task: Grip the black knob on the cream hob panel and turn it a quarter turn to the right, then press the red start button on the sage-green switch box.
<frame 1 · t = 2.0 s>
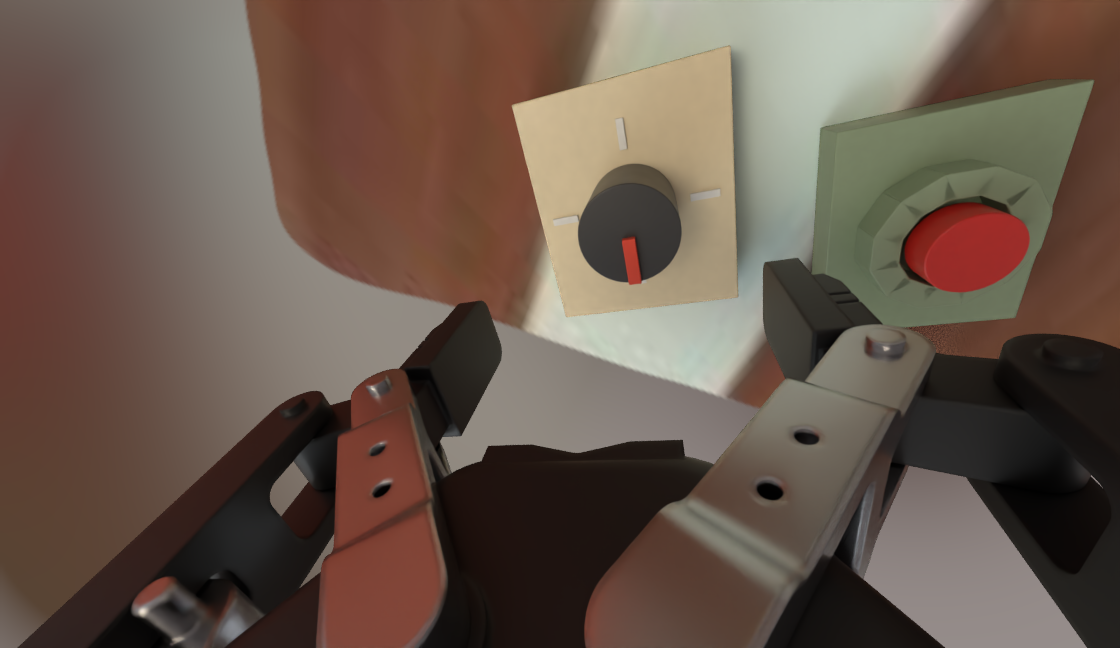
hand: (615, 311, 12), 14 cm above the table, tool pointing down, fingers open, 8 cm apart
hob panel: (634, 194, 24), on the table
start button: (962, 247, 18), point 4 cm above the table, slide at 0.1 cm
switch box: (908, 218, 22), on the table
hob knob: (630, 221, 19), point 5 cm above the table, hinge at 0.0°
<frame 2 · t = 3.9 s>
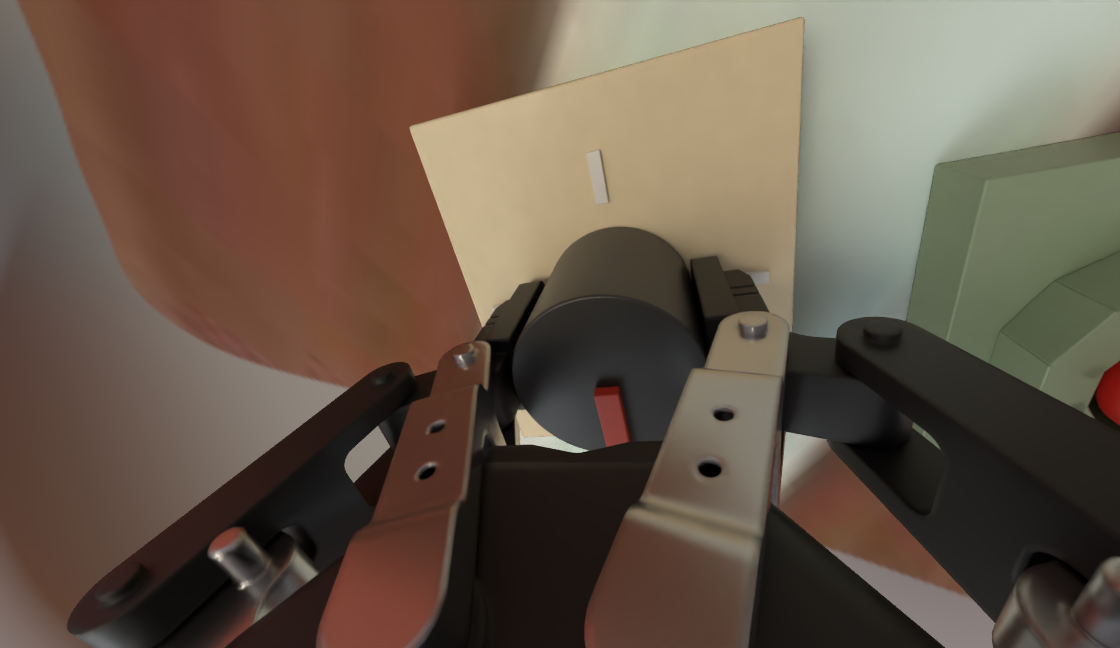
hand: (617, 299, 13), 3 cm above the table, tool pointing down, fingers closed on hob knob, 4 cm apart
hob panel: (623, 259, 15), on the table
switch box: (1066, 307, 13), on the table
hob knob: (613, 334, 11), point 5 cm above the table, hinge at 0.3°, touching gripper
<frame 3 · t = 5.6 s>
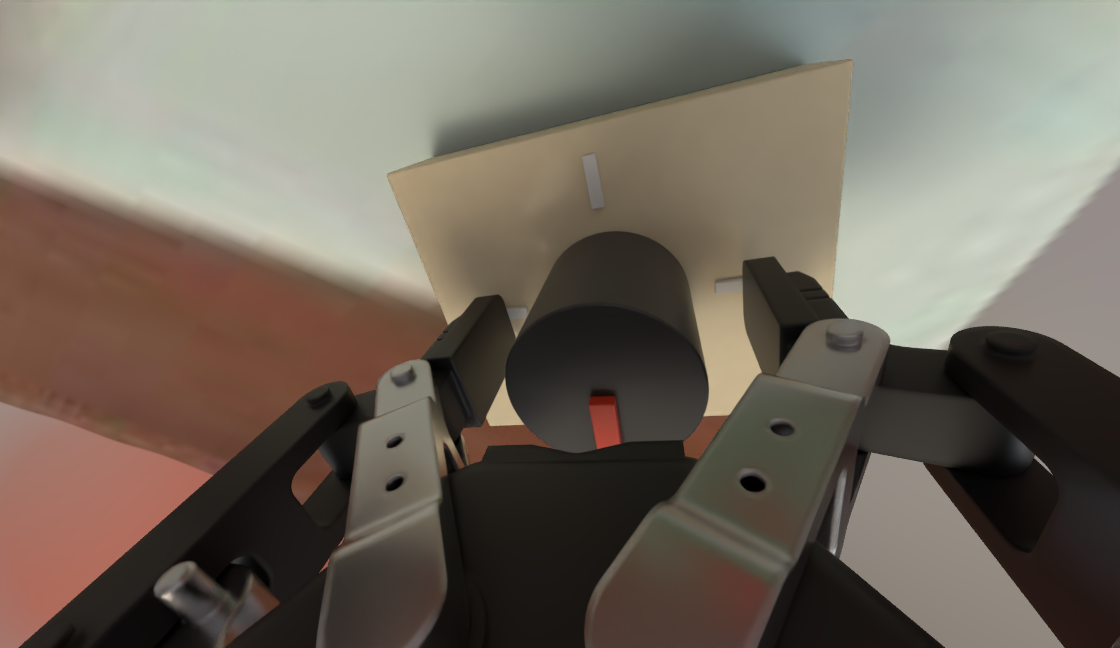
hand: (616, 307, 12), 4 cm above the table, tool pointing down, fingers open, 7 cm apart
hob panel: (621, 263, 15), on the table
hob knob: (609, 341, 11), point 5 cm above the table, hinge at -92.9°
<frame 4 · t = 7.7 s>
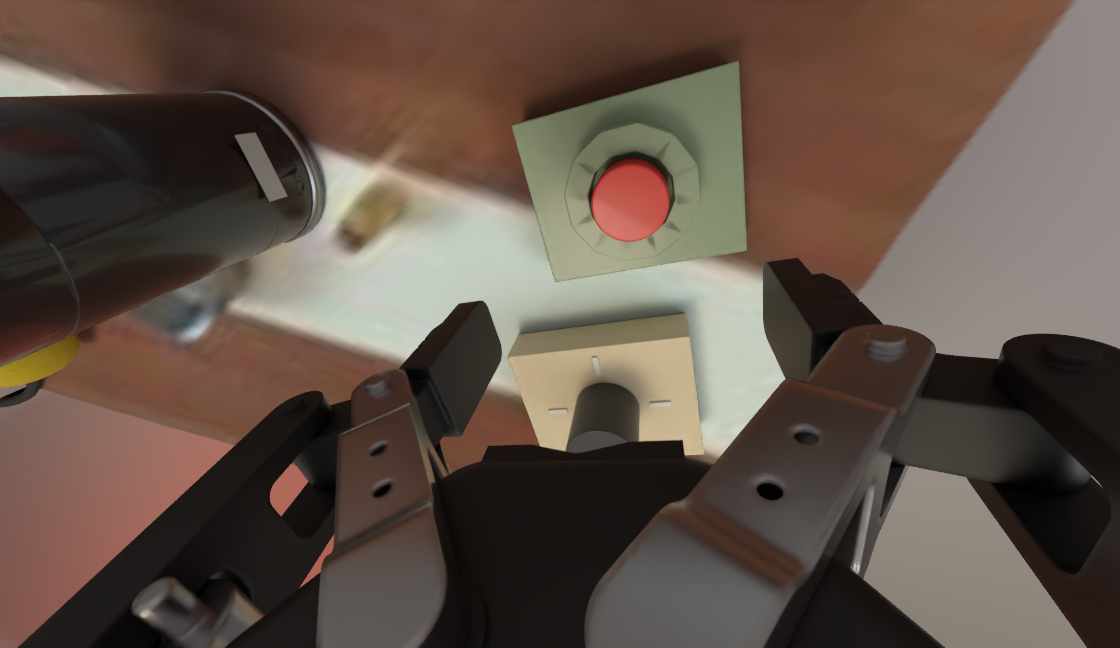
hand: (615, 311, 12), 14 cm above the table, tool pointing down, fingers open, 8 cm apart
hob panel: (610, 380, 31), on the table
start button: (630, 200, 20), point 4 cm above the table, slide at 0.1 cm
switch box: (633, 181, 24), on the table
hob knob: (604, 432, 26), point 5 cm above the table, hinge at -92.9°
lemon: (78, 326, 40), on the table
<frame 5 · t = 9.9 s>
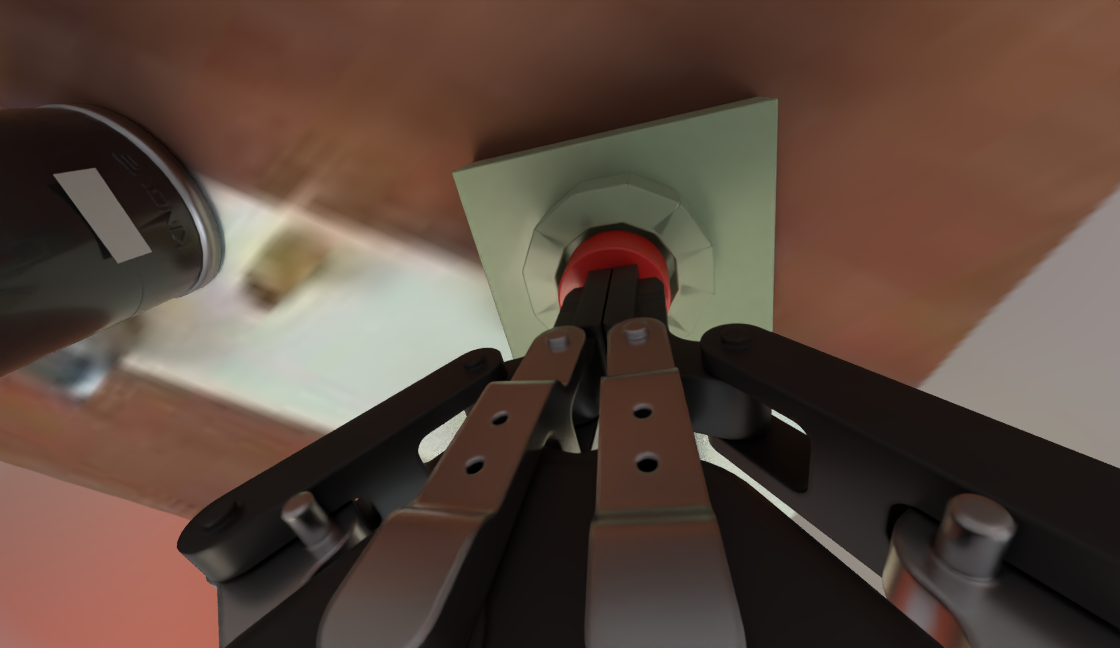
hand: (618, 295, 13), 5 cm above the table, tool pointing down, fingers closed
start button: (614, 289, 14), point 4 cm above the table, slide at 0.1 cm, touching gripper
switch box: (621, 244, 18), on the table
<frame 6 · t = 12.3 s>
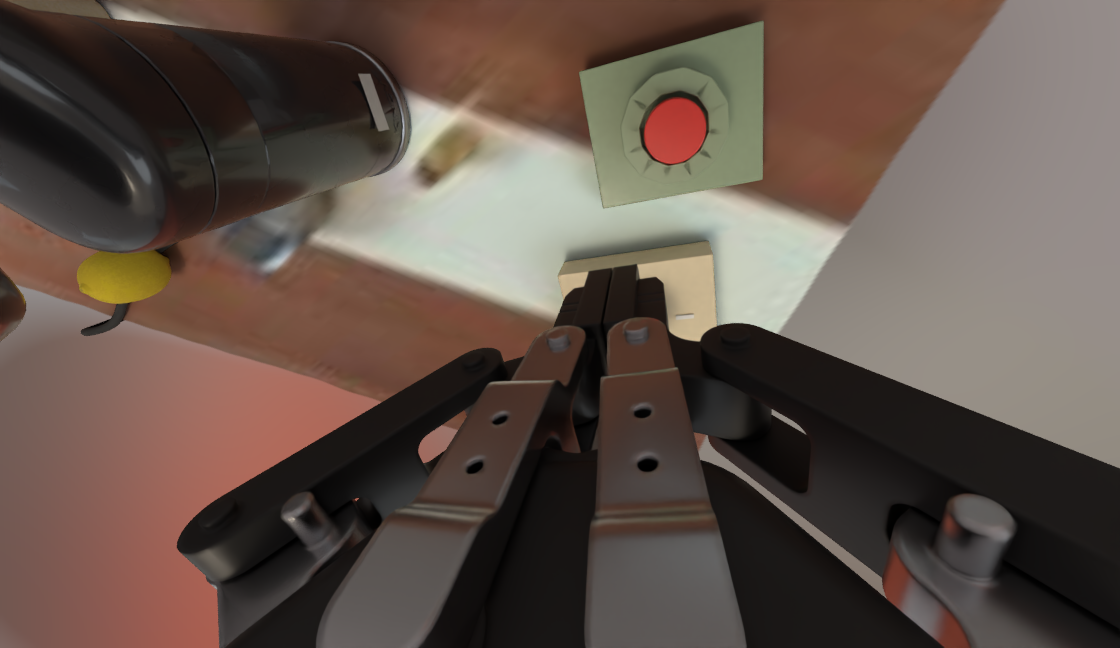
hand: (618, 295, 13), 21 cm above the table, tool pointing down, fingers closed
hob panel: (640, 304, 37), on the table
start button: (674, 130, 25), point 4 cm above the table, slide at 0.1 cm
switch box: (671, 123, 29), on the table
lemon: (169, 258, 45), on the table
flower pot: (90, 29, 34), on the table
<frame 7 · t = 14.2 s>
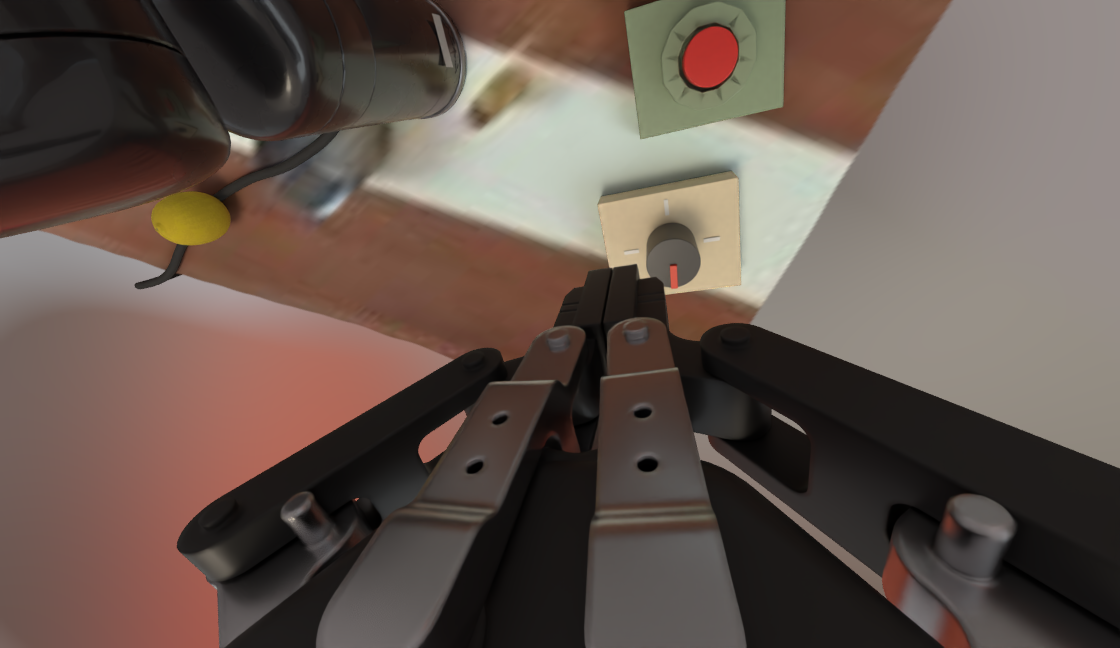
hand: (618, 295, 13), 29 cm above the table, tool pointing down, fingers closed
hob panel: (669, 235, 41), on the table
start button: (709, 58, 29), point 4 cm above the table, slide at 0.1 cm
switch box: (701, 61, 33), on the table
hob knob: (671, 255, 36), point 5 cm above the table, hinge at -92.9°
lemon: (227, 208, 49), on the table
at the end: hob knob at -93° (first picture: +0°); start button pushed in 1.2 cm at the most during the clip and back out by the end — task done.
